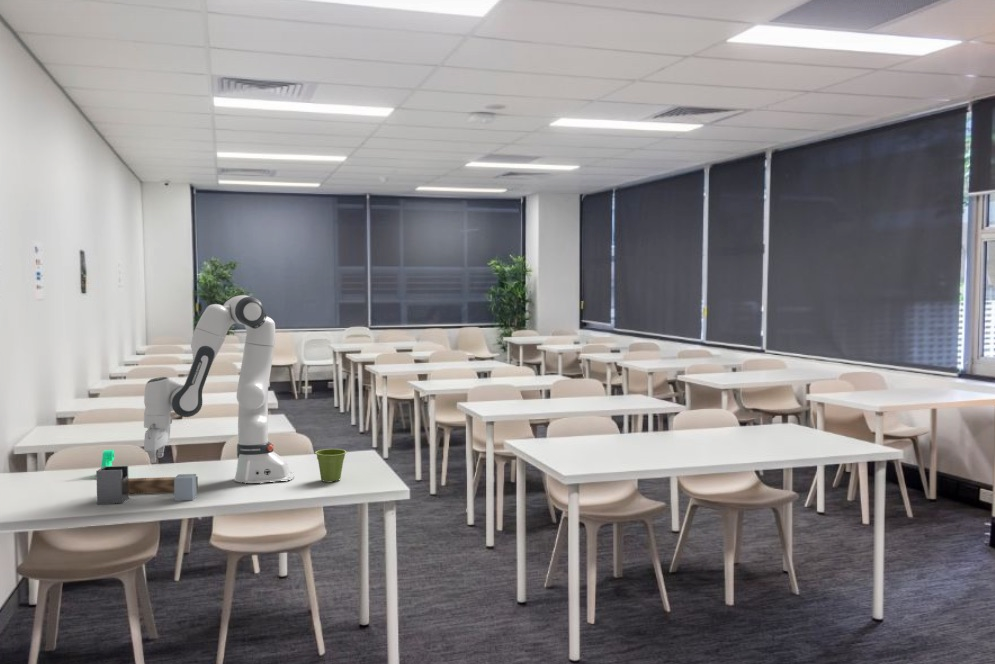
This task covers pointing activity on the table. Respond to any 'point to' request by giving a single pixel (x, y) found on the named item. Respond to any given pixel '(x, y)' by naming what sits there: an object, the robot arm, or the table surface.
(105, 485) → the cup bracket
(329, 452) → the plant pot
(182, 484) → the block
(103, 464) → the camera mount
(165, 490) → the rail
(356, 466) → the table surface
